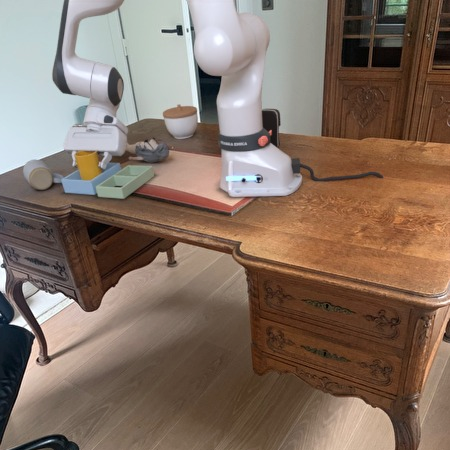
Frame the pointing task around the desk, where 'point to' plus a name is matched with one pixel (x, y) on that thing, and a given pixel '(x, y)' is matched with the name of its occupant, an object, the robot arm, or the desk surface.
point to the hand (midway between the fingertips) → (88, 167)
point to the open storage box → (79, 186)
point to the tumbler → (88, 164)
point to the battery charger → (272, 124)
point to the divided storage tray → (125, 181)
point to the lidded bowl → (181, 121)
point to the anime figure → (148, 151)
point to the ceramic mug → (40, 175)
